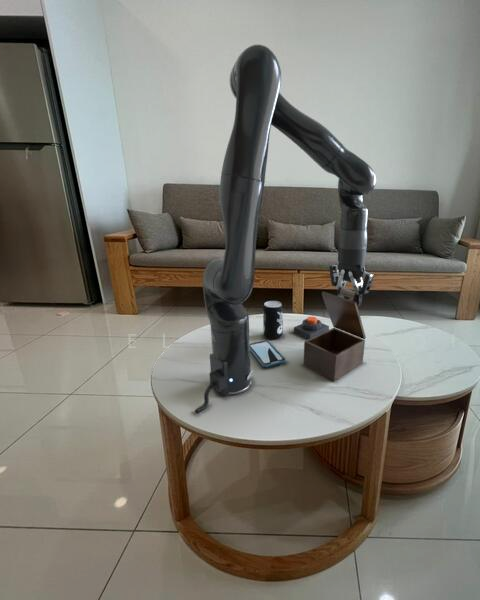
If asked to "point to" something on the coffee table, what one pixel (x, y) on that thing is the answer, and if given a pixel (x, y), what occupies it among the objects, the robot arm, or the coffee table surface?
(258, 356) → the smartphone
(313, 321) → the button
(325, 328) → the button base
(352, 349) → the keepsake box
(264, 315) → the beverage can
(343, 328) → the lid
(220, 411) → the coffee table surface
